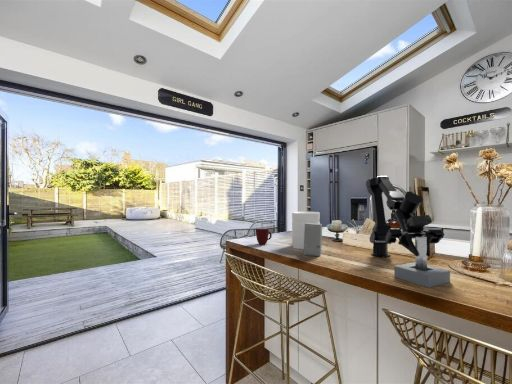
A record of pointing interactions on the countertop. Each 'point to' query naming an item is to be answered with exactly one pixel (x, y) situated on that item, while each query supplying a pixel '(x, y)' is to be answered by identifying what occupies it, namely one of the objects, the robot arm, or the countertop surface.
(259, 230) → the mug
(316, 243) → the skincare box
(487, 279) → the countertop surface
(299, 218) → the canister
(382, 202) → the robot arm
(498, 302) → the countertop surface
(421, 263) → the steel peg
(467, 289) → the countertop surface
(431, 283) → the hole block
